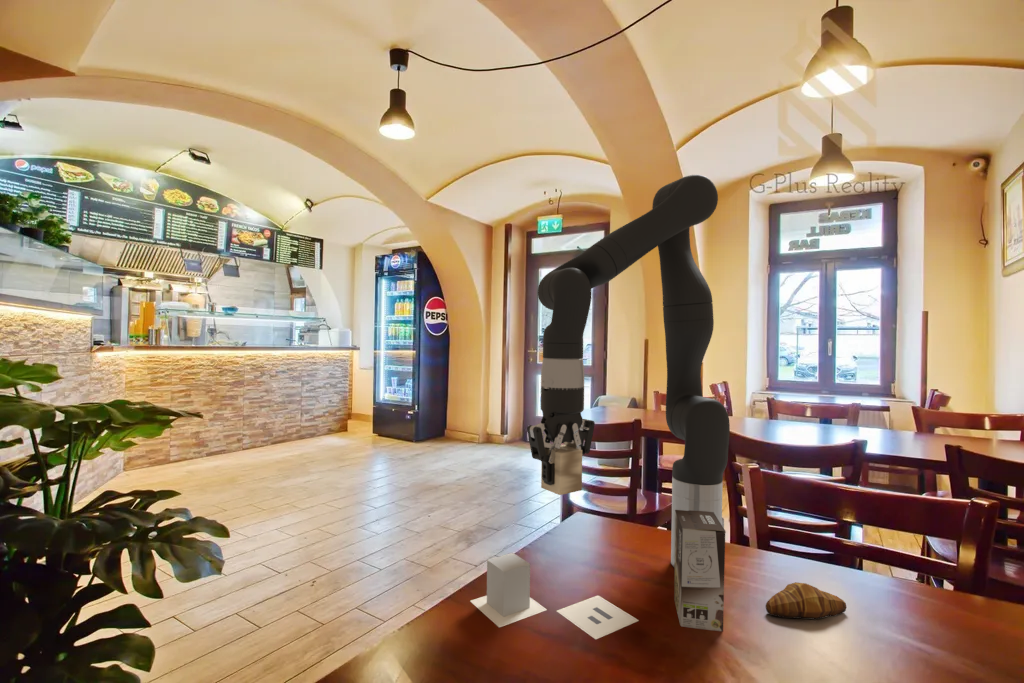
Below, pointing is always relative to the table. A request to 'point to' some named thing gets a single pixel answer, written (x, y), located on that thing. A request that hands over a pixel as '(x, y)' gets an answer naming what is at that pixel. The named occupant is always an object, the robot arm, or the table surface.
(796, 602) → the croissant
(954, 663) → the table surface
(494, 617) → the code tile
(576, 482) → the maple block
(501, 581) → the grey block
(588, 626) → the code tile
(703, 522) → the coffee box
